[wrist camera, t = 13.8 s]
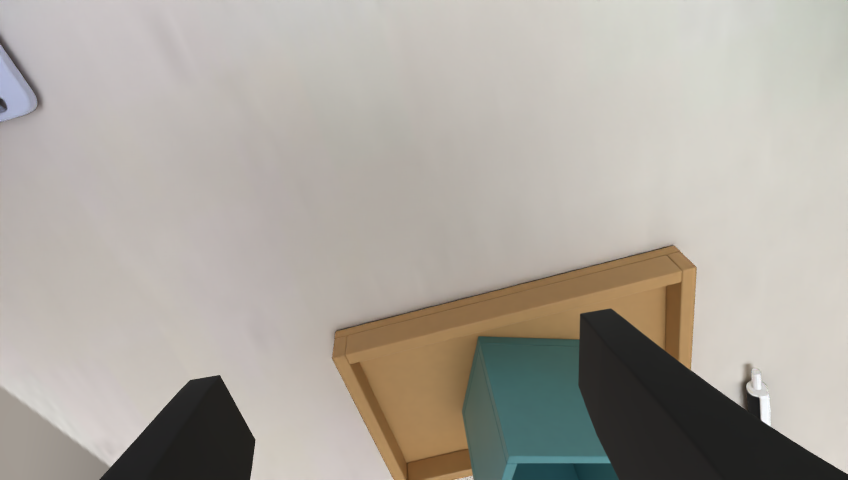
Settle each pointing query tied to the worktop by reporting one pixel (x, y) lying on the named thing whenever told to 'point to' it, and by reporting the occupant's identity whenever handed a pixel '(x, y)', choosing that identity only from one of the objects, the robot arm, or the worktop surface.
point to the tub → (530, 413)
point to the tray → (494, 317)
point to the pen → (758, 397)
